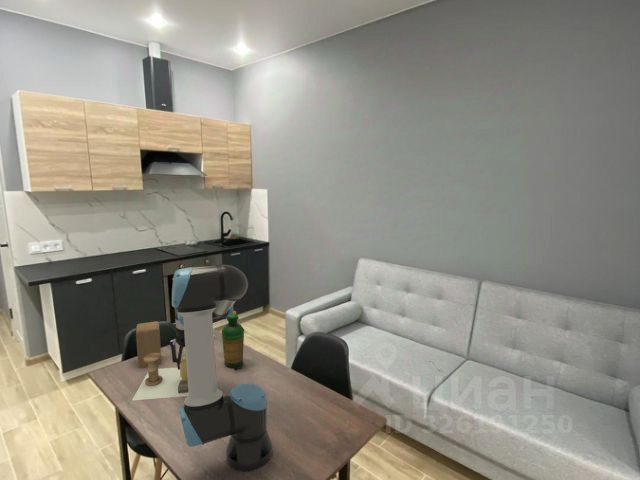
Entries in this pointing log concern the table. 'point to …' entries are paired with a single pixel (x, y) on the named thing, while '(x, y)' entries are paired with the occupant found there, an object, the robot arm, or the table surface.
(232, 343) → the bottle
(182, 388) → the notch board
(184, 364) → the yellow rectangular block
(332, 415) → the table surface
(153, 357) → the bobbin
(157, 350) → the wooden block
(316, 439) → the table surface
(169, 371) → the board
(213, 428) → the robot arm
